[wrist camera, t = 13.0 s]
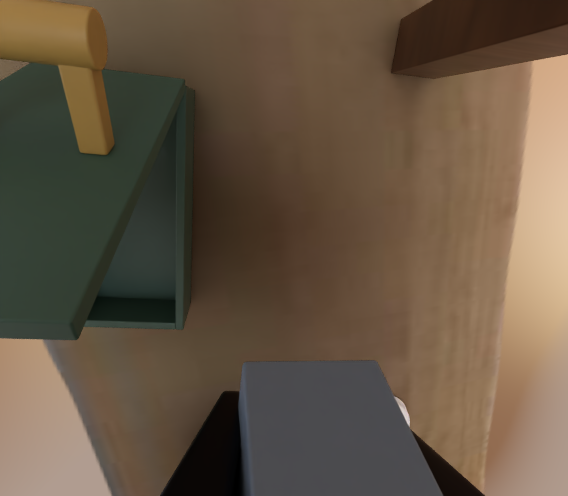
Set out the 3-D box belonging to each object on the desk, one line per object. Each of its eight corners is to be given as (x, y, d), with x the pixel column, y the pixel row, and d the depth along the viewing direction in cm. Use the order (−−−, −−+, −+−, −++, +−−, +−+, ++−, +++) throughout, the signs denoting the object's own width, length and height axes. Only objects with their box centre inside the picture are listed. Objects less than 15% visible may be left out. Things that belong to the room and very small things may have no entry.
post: (434, 79, 19) (835, 5, 6) (390, 72, 18) (718, -18, 6) (446, 25, 18) (939, -187, 5) (401, 18, 17) (809, -227, 5)
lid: (78, 341, 6) (-15, 115, 3) (-349, 330, 5) (-858, 30, 3) (185, 91, 15) (181, -20, 12) (38, 73, 14) (2, -48, 12)
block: (344, 453, 9) (394, 619, 6) (232, 460, 8) (235, 643, 6) (377, 358, 7) (459, 522, 5) (242, 359, 7) (253, 543, 4)
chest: (190, 303, 22) (183, 330, 19) (91, 299, 21) (69, 326, 18) (195, 90, 18) (186, 85, 15) (72, 75, 17) (40, 68, 14)
